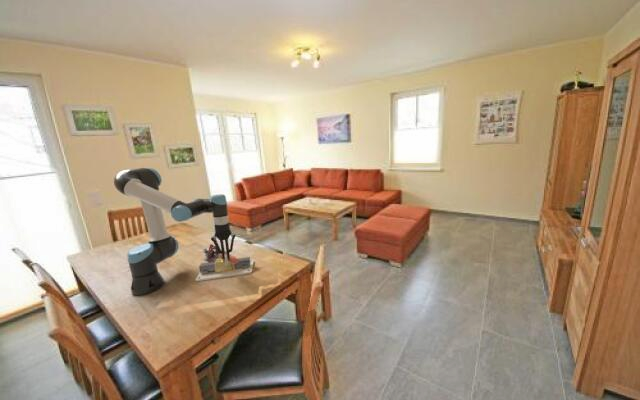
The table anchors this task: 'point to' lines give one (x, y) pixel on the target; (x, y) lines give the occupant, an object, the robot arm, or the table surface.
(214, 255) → the brake caliper
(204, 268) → the pipe valve
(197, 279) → the mount board
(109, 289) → the table surface
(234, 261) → the lever
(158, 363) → the table surface
